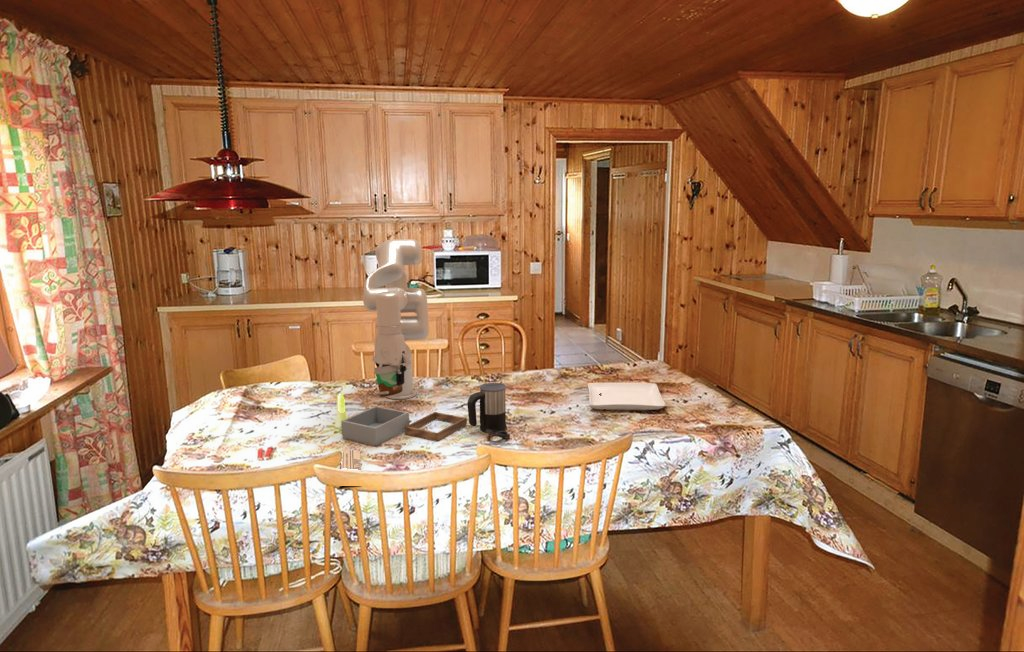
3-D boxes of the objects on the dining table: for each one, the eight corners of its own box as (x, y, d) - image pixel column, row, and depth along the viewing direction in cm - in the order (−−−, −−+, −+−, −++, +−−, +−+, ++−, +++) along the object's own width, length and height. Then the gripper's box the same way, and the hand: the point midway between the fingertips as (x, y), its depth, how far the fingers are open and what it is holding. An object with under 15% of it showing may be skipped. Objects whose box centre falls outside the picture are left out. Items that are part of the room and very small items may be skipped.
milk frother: (492, 421, 219) (491, 380, 216) (527, 431, 209) (527, 389, 206) (464, 433, 209) (462, 390, 206) (499, 444, 199) (498, 400, 196)
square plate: (655, 391, 250) (656, 382, 250) (665, 415, 224) (666, 404, 223) (587, 390, 253) (587, 381, 252) (589, 413, 226) (589, 403, 226)
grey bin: (342, 438, 206) (341, 421, 205) (376, 422, 220) (375, 405, 219) (376, 446, 199) (375, 428, 198) (409, 429, 213) (408, 412, 212)
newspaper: (340, 456, 193) (339, 451, 193) (363, 454, 195) (363, 448, 194) (339, 490, 171) (339, 484, 170) (366, 487, 172) (366, 481, 172)
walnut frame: (405, 434, 209) (404, 426, 208) (435, 418, 223) (434, 411, 222) (438, 441, 202) (437, 434, 202) (466, 424, 216) (466, 418, 216)
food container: (394, 398, 200) (390, 367, 198) (377, 397, 202) (373, 368, 201) (412, 386, 212) (408, 357, 210) (396, 386, 214) (392, 358, 212)
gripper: (361, 329, 204) (364, 383, 208) (404, 334, 196) (406, 389, 200) (376, 325, 210) (379, 377, 214) (418, 329, 202) (420, 383, 206)
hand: (392, 382), depth 207 cm, fingers closed on food container, 5 cm apart
